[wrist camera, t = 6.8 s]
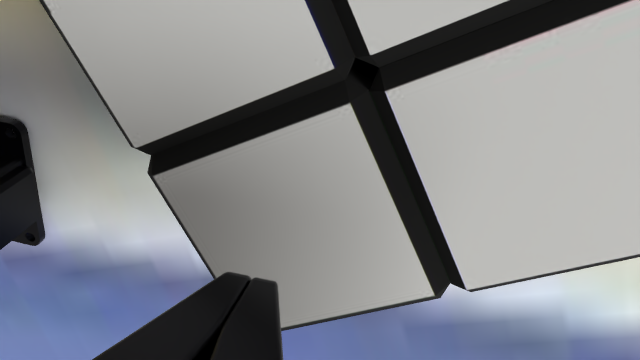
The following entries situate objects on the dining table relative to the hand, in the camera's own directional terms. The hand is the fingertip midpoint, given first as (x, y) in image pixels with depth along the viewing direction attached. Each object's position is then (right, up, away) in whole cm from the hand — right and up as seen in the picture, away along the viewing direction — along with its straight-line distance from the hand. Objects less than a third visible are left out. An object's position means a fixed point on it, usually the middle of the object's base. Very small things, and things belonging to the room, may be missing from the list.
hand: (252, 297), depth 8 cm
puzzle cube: (+4, +8, +9) cm, 13 cm away
